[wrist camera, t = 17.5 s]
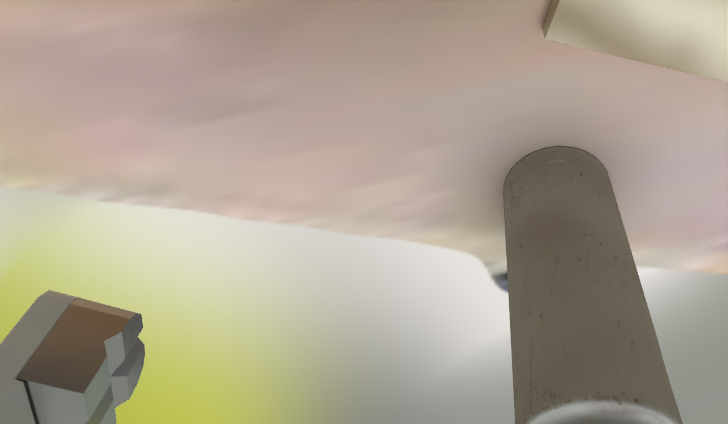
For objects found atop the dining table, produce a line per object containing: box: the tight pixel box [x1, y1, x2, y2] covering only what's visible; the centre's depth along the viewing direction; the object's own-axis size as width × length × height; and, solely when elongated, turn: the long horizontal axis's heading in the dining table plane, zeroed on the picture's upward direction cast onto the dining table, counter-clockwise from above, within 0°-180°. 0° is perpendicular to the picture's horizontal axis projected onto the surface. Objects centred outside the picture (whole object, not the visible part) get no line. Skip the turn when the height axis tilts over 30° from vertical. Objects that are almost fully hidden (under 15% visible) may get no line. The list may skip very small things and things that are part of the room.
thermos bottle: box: [503, 147, 683, 424], centre depth 36 cm, size 8×8×28 cm
